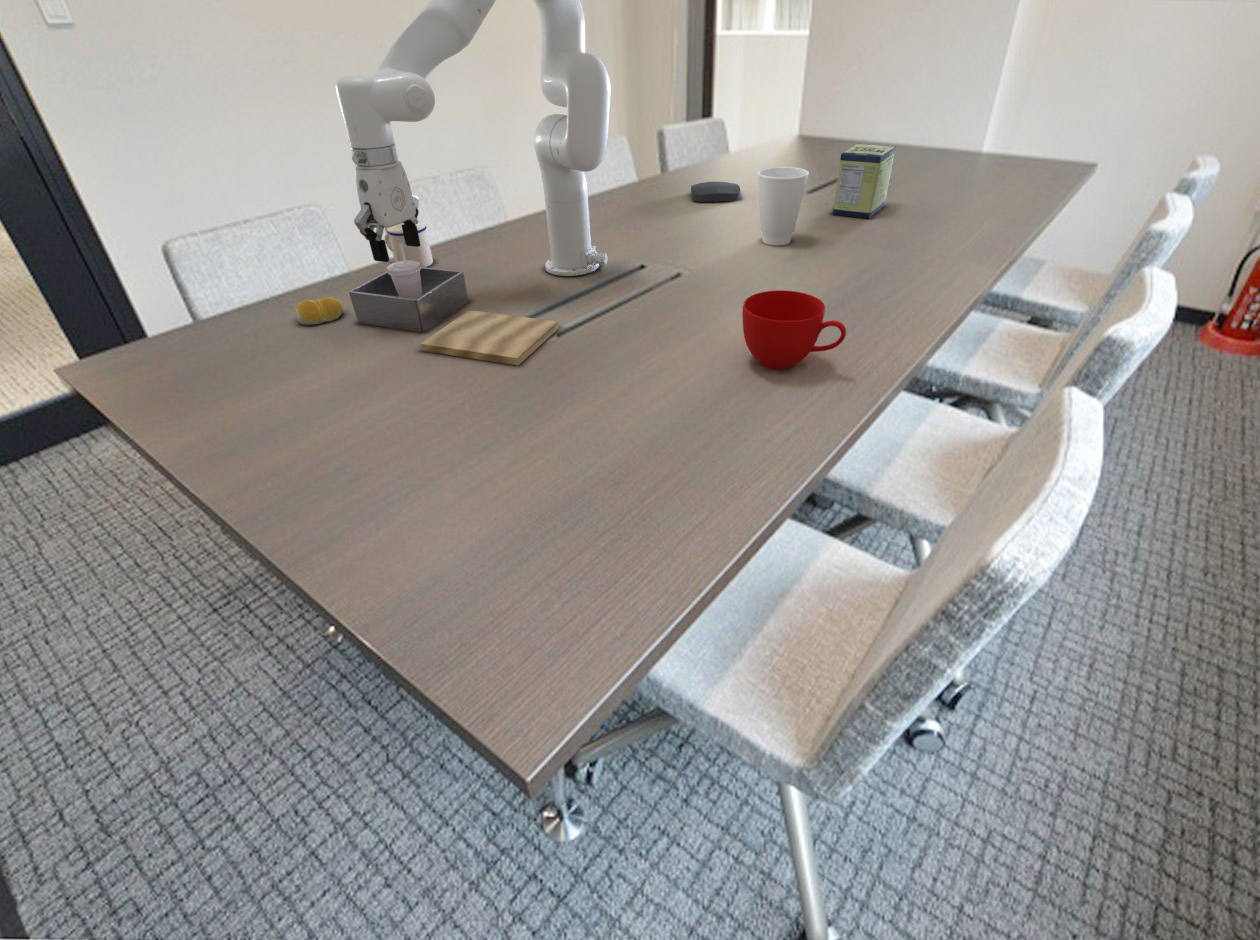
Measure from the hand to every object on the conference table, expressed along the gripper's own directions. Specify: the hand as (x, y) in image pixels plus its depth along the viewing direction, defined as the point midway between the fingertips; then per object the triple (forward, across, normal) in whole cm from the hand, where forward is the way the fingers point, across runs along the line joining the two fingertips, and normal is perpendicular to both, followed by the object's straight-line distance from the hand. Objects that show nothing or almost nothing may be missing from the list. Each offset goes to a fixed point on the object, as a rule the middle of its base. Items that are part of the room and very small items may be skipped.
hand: (398, 253), depth 124 cm
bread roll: (+13, -8, +17) cm, 23 cm away
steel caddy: (+12, 0, 0) cm, 12 cm away
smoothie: (+12, 0, 0) cm, 12 cm away
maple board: (+12, -6, -23) cm, 27 cm away
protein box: (+10, +98, -80) cm, 126 cm away
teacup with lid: (+12, +26, +19) cm, 34 cm away
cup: (+11, +64, -63) cm, 91 cm away
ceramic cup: (+12, 0, -77) cm, 78 cm away
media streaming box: (+10, +104, -37) cm, 110 cm away
